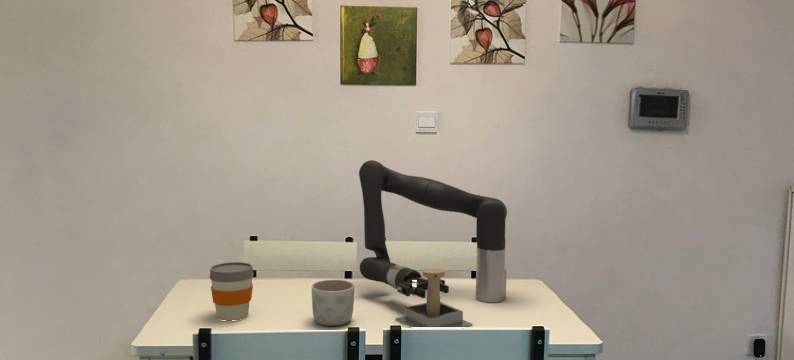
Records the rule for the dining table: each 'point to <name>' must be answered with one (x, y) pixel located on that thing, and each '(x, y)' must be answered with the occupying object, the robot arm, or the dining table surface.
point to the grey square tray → (446, 318)
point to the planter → (332, 302)
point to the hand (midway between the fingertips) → (436, 292)
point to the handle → (433, 290)
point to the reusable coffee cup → (231, 289)
